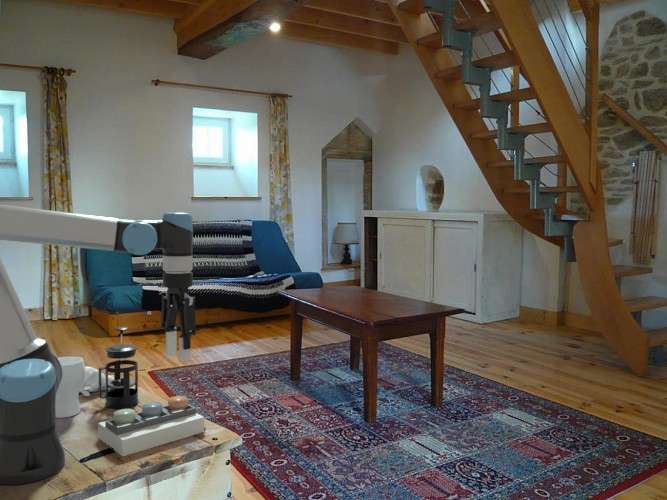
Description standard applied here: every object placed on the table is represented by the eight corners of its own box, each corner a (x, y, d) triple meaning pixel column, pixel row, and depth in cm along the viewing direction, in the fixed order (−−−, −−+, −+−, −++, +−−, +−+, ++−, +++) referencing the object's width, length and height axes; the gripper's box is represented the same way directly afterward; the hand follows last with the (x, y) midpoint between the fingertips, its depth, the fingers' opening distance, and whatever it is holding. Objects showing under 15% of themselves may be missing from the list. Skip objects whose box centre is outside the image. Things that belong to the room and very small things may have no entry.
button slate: (147, 418, 141) (147, 410, 141) (138, 412, 145) (138, 405, 145) (166, 413, 145) (165, 405, 145) (156, 408, 148) (156, 400, 148)
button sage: (119, 425, 136) (119, 417, 136) (110, 419, 140) (110, 412, 139) (138, 420, 140) (138, 412, 139) (129, 415, 143) (129, 407, 143)
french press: (135, 395, 174) (134, 322, 173) (145, 404, 167) (145, 328, 165) (95, 403, 167) (94, 326, 165) (104, 412, 160) (103, 333, 158)
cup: (74, 420, 154) (74, 366, 152) (36, 419, 154) (35, 365, 153) (92, 406, 164) (91, 356, 163) (56, 405, 164) (55, 355, 163)
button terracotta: (174, 411, 146) (174, 403, 146) (164, 406, 150) (164, 398, 150) (191, 406, 150) (191, 399, 150) (181, 401, 153) (181, 394, 153)
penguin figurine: (73, 365, 175) (112, 362, 183) (71, 392, 175) (110, 388, 183) (79, 370, 170) (119, 367, 178) (77, 398, 170) (117, 394, 178)
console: (122, 456, 132) (122, 433, 132) (98, 438, 142) (98, 417, 142) (204, 431, 148) (204, 411, 147) (177, 416, 158) (177, 397, 157)
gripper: (210, 274, 143) (210, 363, 145) (172, 267, 157) (172, 348, 158) (184, 276, 137) (184, 368, 139) (147, 269, 151) (147, 353, 153)
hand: (177, 358), depth 149 cm, fingers open, 6 cm apart
